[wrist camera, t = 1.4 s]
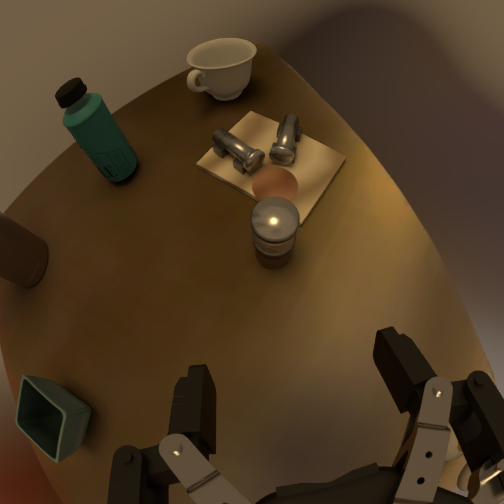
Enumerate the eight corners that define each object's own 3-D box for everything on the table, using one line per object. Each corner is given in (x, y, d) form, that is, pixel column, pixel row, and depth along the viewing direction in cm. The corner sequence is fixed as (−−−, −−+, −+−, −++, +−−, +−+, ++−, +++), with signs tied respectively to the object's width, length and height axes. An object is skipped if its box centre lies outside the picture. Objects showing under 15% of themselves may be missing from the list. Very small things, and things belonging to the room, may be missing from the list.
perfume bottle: (457, 398, 27) (512, 405, 15) (458, 450, 23) (506, 467, 12) (418, 419, 26) (470, 437, 15) (419, 472, 23) (463, 500, 12)
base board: (196, 168, 40) (195, 164, 39) (250, 115, 44) (250, 110, 43) (299, 228, 36) (300, 224, 35) (344, 160, 40) (346, 156, 39)
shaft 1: (265, 164, 39) (265, 147, 35) (248, 178, 38) (246, 161, 34) (229, 137, 41) (226, 120, 37) (211, 150, 40) (207, 133, 37)
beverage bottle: (143, 152, 42) (95, 62, 24) (140, 183, 40) (80, 90, 21) (110, 162, 42) (56, 81, 24) (105, 192, 40) (38, 111, 21)
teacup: (174, 111, 46) (160, 70, 36) (220, 71, 50) (214, 34, 40) (226, 128, 43) (218, 82, 34) (269, 85, 47) (269, 44, 38)
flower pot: (62, 373, 31) (21, 372, 22) (105, 403, 29) (66, 413, 21) (52, 417, 28) (14, 423, 19) (93, 449, 27) (57, 465, 18)
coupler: (247, 256, 35) (240, 222, 26) (268, 228, 36) (268, 187, 27) (277, 277, 34) (282, 249, 25) (298, 247, 35) (309, 211, 26)
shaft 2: (292, 168, 38) (294, 151, 35) (268, 163, 39) (268, 146, 35) (301, 131, 41) (303, 114, 37) (279, 127, 41) (280, 110, 38)
